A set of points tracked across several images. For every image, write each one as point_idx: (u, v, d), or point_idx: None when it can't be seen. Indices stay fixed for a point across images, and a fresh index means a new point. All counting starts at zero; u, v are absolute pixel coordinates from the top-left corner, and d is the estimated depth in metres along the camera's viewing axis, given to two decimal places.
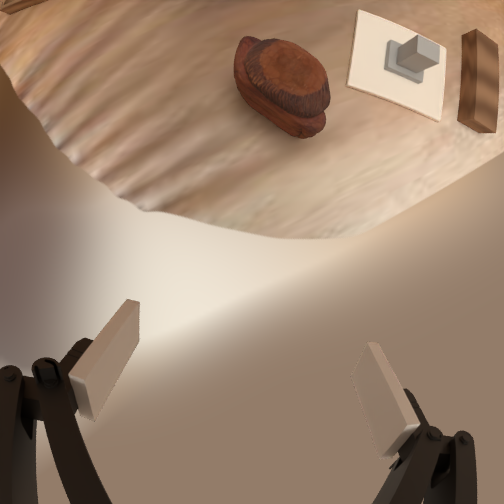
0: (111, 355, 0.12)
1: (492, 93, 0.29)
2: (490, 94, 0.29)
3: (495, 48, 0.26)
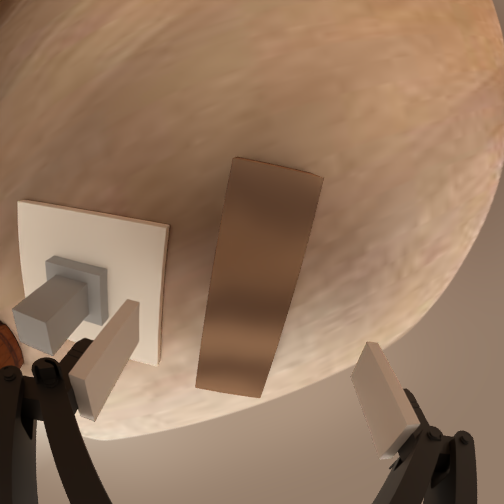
0: (111, 355, 0.12)
1: (257, 335, 0.21)
2: (249, 338, 0.21)
3: (307, 197, 0.17)
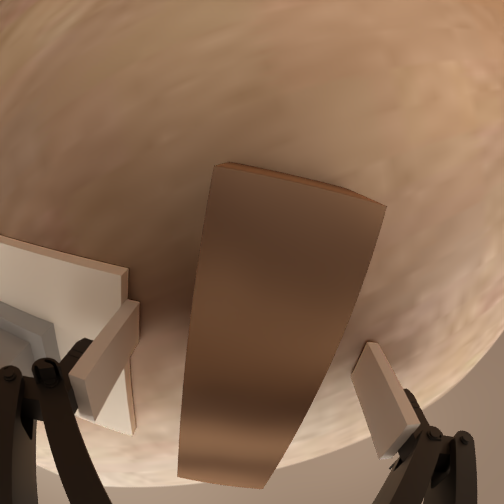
0: (111, 355, 0.12)
1: (259, 437, 0.12)
2: (248, 439, 0.12)
3: (355, 243, 0.09)
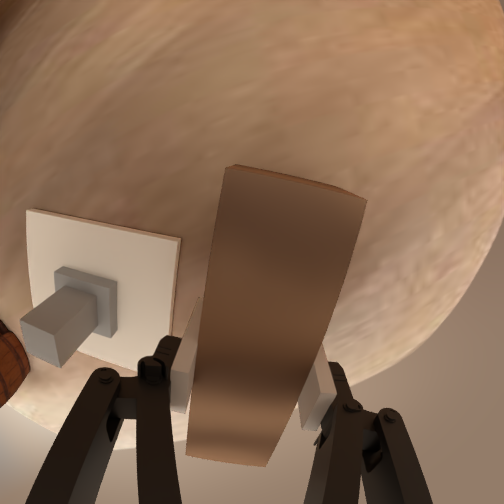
0: None
1: (262, 409, 0.14)
2: (252, 412, 0.14)
3: (341, 230, 0.11)
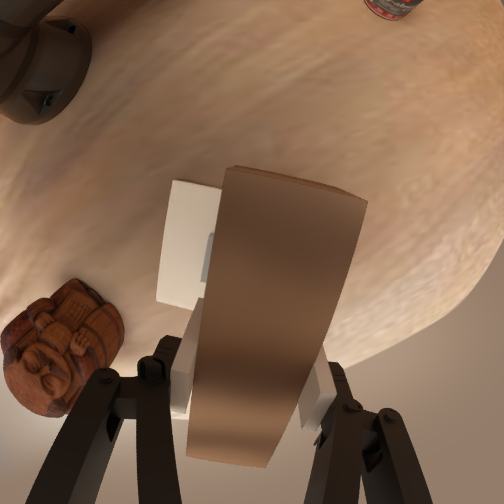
0: None
1: (262, 410, 0.14)
2: (252, 413, 0.14)
3: (342, 232, 0.11)
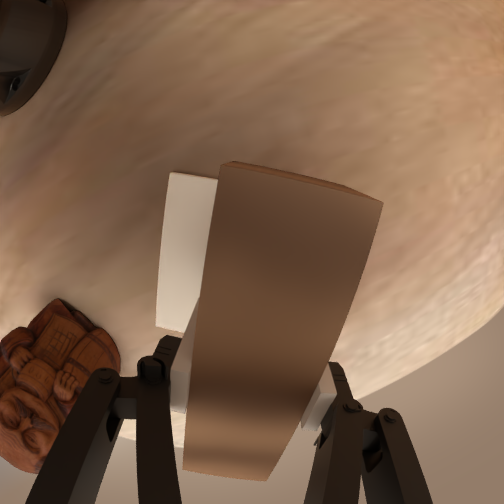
0: None
1: (263, 427, 0.13)
2: (252, 430, 0.13)
3: (354, 238, 0.10)
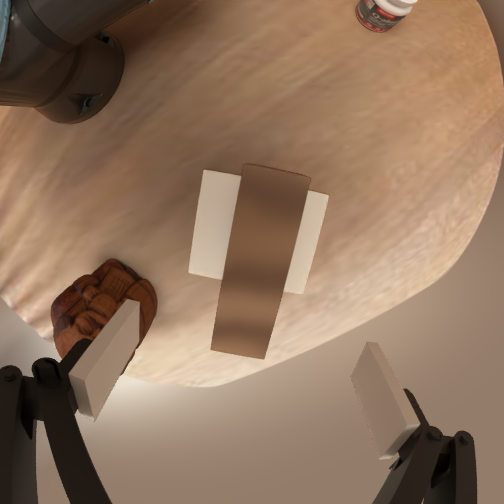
0: (111, 355, 0.12)
1: (261, 301, 0.27)
2: (255, 304, 0.27)
3: (298, 193, 0.24)
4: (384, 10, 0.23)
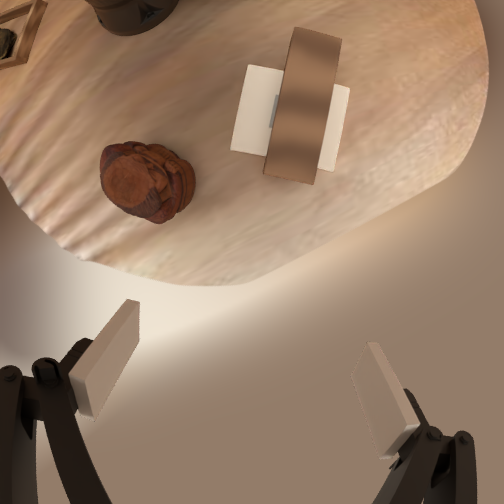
0: (111, 355, 0.12)
1: (311, 124, 0.29)
2: (306, 126, 0.29)
3: (334, 46, 0.26)
4: None
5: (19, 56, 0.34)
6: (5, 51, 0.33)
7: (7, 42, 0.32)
